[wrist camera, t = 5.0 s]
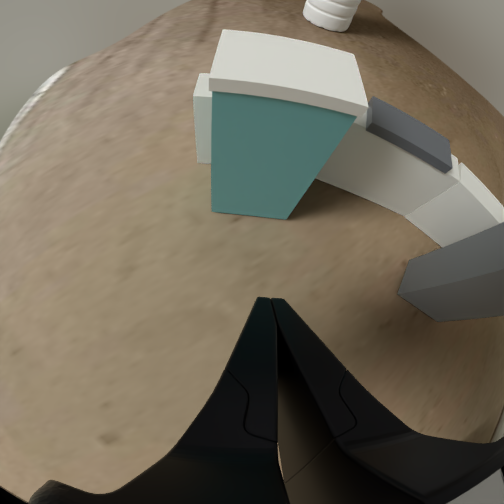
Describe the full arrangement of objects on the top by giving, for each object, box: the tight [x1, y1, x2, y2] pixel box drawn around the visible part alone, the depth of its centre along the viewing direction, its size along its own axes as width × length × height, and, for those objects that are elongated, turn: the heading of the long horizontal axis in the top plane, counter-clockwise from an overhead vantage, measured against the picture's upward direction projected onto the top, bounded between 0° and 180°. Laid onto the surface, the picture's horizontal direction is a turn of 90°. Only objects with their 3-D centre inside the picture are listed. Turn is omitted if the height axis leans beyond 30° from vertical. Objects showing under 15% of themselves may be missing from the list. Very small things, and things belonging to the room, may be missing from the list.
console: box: [193, 73, 504, 248], centre depth 17 cm, size 26×4×8 cm, turn 73°
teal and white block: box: [209, 29, 369, 220], centre depth 14 cm, size 3×5×12 cm, turn 86°
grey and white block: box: [398, 222, 504, 322], centre depth 14 cm, size 3×5×12 cm, turn 60°
